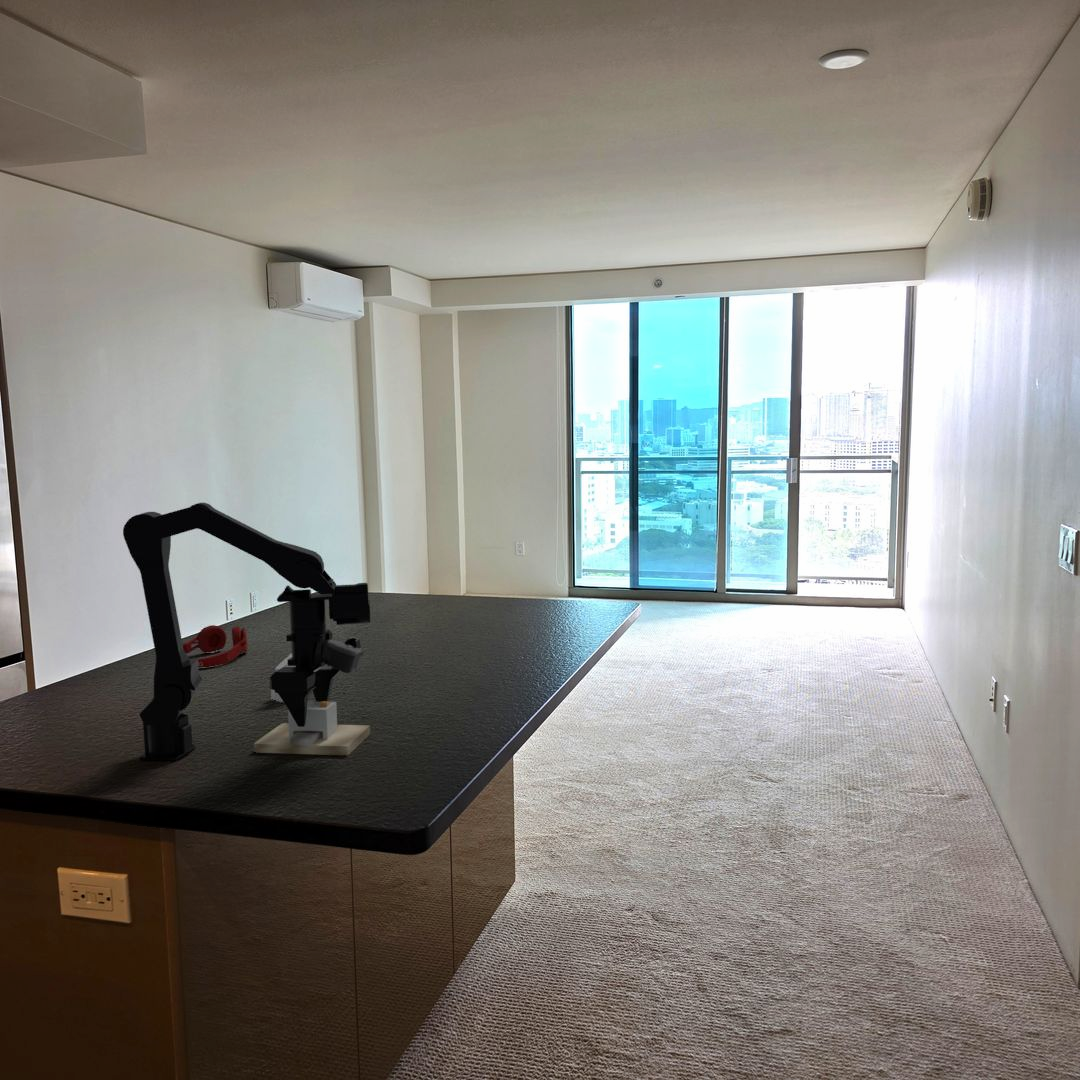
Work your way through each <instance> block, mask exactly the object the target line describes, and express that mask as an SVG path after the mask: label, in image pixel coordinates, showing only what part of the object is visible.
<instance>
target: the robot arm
mask: <svg viewBox="0 0 1080 1080" xmlns="http://www.w3.org/2000/svg"><path fill="white" fill-rule="evenodd" d="M196 529H197V530H201V531H203V532H205V533H207V534H209V535H211V536H213V537H215V538H217V539H218V540H220V541H223V542H224V543H227V544H228V545H231V546H233V547H234V548H236V549H239V550H240V551H243V552H244V553H246V554H248V555H250V556H251V557H254V558H256V559H258V560H260V561H262V562H264V563H265V564H266V565H268V566H269V567H270V568H271V569H272V570H273V571H275V572H276V573H277V574H278V575H279V576H281V577H283V579H285V580H286V581H287V582H289V583H290V584H292V585H293V586H294V587H296V588H300V589H293V588H292V587H291V586H290V585H289V584H288V585H286V586H285V587H284V590H283V591H282V592H281V593H280V594H279V595H278V597H277V598H276V601H277V602H278V603H285V602H286V603H287V602H289V620H290V622H289V623H290V632H289V633H288V634H285V635H286V636H285V637H286V642H290V643H291V647H290V648H291V653H292V658H290V659H288V666H295V667H283V668H281V669H279V670H277V671H274V672H273V674H271V675H270V676H269V689H270V690H271V689H272V690H274V691H275V693H278V694H279V696H280V697H281V699H282V700H283V703H284V705H285V706H286V708H287V711H288V710H289V712H290V713H291V715H292V717H293V719H294V720H295V722H296V724H297V726H298V727H304V726H305V722H306V713H307V701H309V700H308V699H309V695H310V694H311V693H312V694H313V696H314V699H315V702H322V701H329V698H330V694H331V691H332V686H333V682H334V680H335V679H334V678H335V677H336V676H337V675H338V674H339V673H340V672H342V673H345V674H350V673H352V672H353V670H357V668H358V665H359V662H360V658H361V657H363V656H364V654H363V649H364V648H362V645H361V641H360V638H357V637H355V636H351V637H349V638H347V640H345V642H344V641H343V640H342V639H341V640H336V639H334V638H333V632H332V631H331V629H327V621H326V619H327V618H326V617H327V616H326V601H328V615H329V620H332V622H336V623H335V624H336V626H343V625H344V626H345V625H346V626H347V625H360V624H361V625H362V624H371V602H370V598H369V584H368V582H359V583H356V584H337V583H336V582H335V580H334V578H332V577H331V576H330V575H329V574H328V573H327V571H326V570H325V563H324V560H323V557H322V556H321V555H320V554H319V553H318V552H317V551H314V550H311V549H309V548H308V549H307V548H305V547H302V546H298V545H296V544H291V543H287V542H283V541H281V540H277V539H275V538H273V537H271V536H269V535H267V534H265V533H263V532H261V531H258V530H257V529H255V528H253V527H251V526H249V525H247V524H245V523H243V522H241V521H240V520H237V519H235V518H233V517H231V516H230V515H228V514H225V513H224V512H222V511H220V510H218V509H216V508H215V507H213V506H212V505H211V504H209V503H207V502H198V503H194V504H192V505H190V506H189V507H186V508H181V509H178V510H173V511H171V512H167V513H164V514H161V513H160V512H156V511H146V512H142V513H139V514H135V515H133V516H132V517H130V518H128V520H127V521H126V523H125V524H124V526H123V528H122V536H123V539H124V542H125V544H126V546H127V549H128V552H129V554H130V556H131V558H132V560H133V562H134V563H135V565H136V567H137V569H138V570H139V573H140V578H141V583H142V587H143V593H144V598H145V603H146V609H147V615H148V620H149V626H150V631H151V636H152V637H151V638H152V642H153V647H154V653H155V664H154V665H155V666H154V673H153V674H154V675H153V698H152V699H151V700H150V701H149V702H148V704H147V705H146V706H145V707H144V708H143V709H142V711H141V712H140V713H139V716H140V719H141V721H142V732H143V747H144V752H143V753H141V754H140V755H139V756H138V759H139V760H148V761H151V760H152V761H153V760H156V761H176V760H179V759H180V758H182V757H183V756H185V755H187V754H188V753H189V752H191V751H193V750H195V749H196V744H193V736H192V735H193V734H192V732H193V731H192V724H191V723H189V714H184V713H183V711H184V710H186V709H187V707H188V706H189V705H190V703H191V702H192V700H193V699H194V698H195V696H196V695H197V693H198V691H199V688H200V684H201V683H202V681H203V678H202V676H201V675H200V672H199V669H198V659H199V657H193V658H191V659H190V658H189V657H188V654H187V653H185V651H184V648H183V644H184V643H183V639H182V633H181V628H180V622H179V617H178V613H177V612H178V610H177V606H176V601H175V595H174V590H173V585H172V579H171V574H170V573H171V572H170V567H169V563H170V555H171V545H172V544H171V539H172V538H171V537H173V536H177V535H179V534H183V533H186V532H189V531H192V530H196ZM312 590H313V591H315V592H317V593H312ZM189 659H190V660H189Z"/></svg>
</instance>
